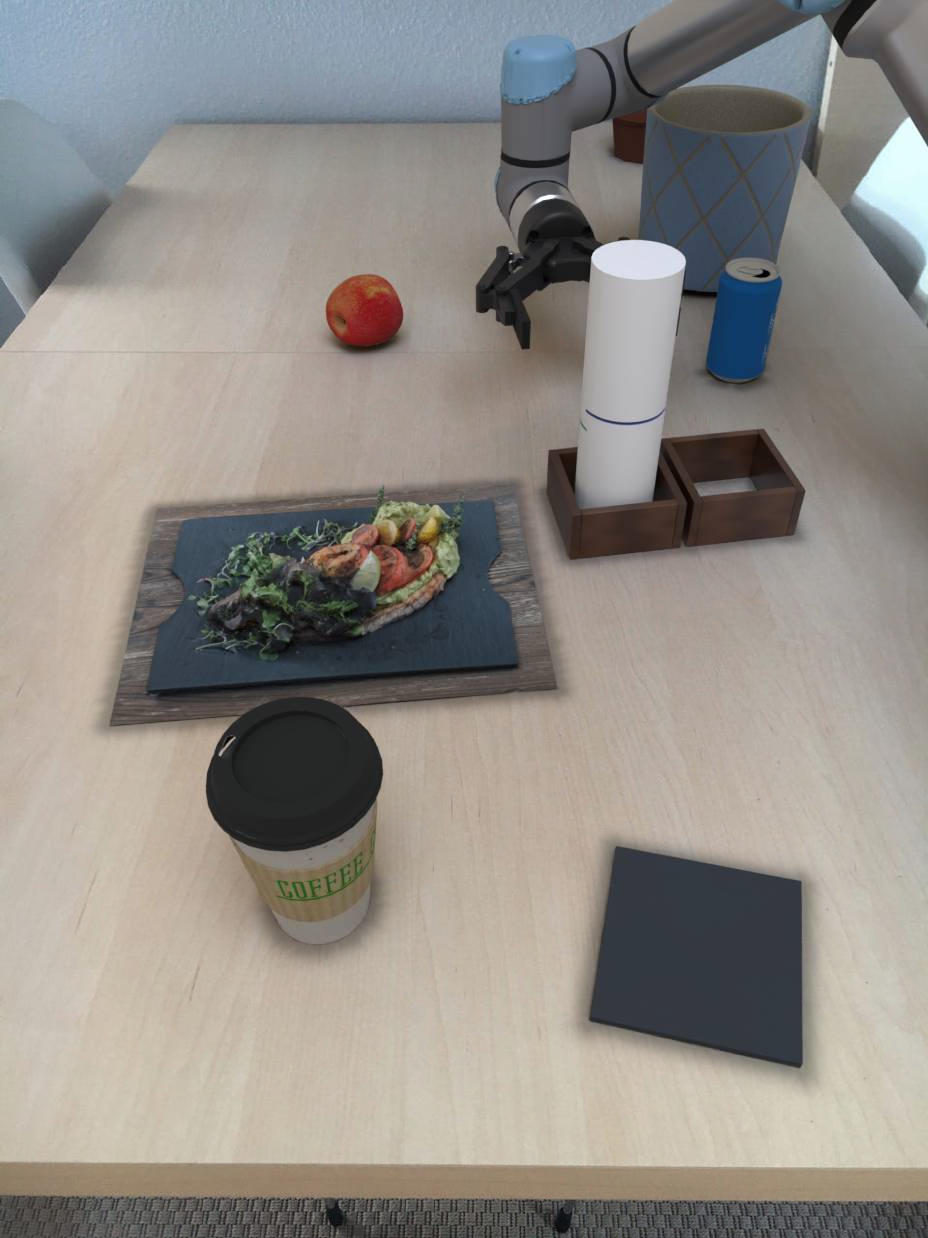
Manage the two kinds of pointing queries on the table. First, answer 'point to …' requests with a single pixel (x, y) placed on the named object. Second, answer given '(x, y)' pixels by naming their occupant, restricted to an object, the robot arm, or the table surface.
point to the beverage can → (743, 319)
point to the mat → (702, 956)
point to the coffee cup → (301, 811)
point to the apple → (364, 310)
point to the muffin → (630, 136)
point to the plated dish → (333, 604)
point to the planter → (720, 175)
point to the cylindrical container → (626, 370)
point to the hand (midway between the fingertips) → (601, 329)
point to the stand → (683, 498)
